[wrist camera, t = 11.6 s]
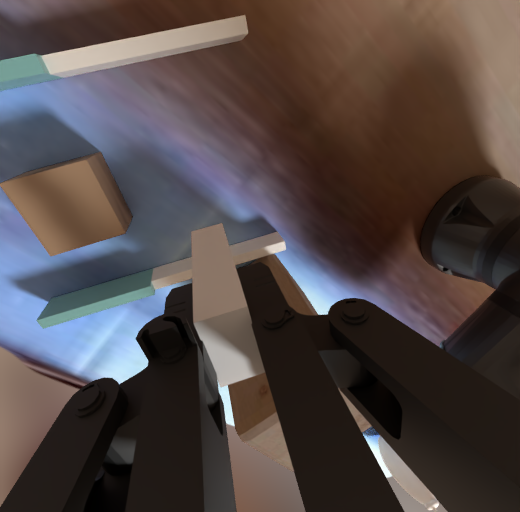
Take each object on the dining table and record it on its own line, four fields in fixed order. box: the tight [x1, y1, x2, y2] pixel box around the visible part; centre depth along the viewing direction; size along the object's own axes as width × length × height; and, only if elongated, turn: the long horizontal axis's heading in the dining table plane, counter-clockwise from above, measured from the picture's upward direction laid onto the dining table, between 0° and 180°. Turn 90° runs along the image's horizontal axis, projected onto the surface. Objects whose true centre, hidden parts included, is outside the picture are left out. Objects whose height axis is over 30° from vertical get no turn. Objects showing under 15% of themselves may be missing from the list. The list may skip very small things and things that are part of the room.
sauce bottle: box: [378, 435, 439, 512], centre depth 60 cm, size 8×8×18 cm
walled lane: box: [0, 15, 286, 329], centre depth 28 cm, size 28×22×4 cm
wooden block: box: [228, 254, 371, 472], centre depth 31 cm, size 10×10×20 cm
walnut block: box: [0, 152, 133, 256], centre depth 27 cm, size 7×7×5 cm
